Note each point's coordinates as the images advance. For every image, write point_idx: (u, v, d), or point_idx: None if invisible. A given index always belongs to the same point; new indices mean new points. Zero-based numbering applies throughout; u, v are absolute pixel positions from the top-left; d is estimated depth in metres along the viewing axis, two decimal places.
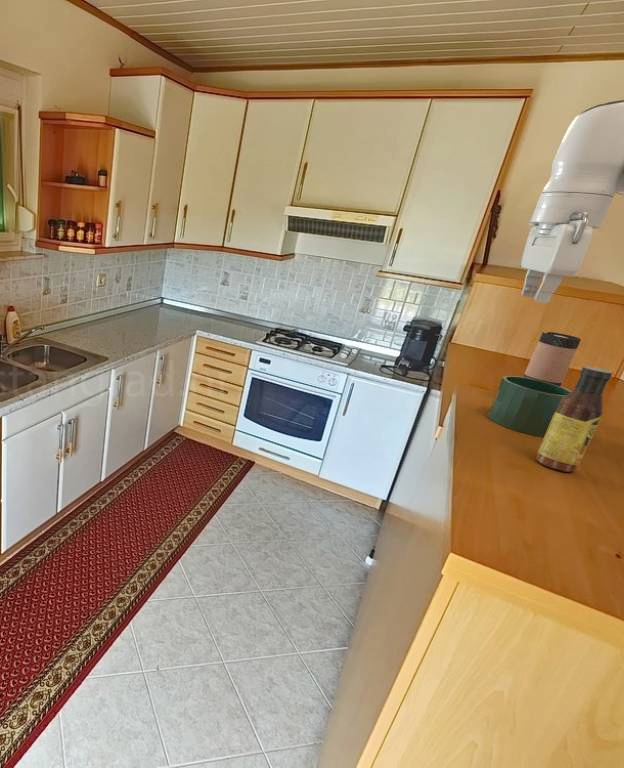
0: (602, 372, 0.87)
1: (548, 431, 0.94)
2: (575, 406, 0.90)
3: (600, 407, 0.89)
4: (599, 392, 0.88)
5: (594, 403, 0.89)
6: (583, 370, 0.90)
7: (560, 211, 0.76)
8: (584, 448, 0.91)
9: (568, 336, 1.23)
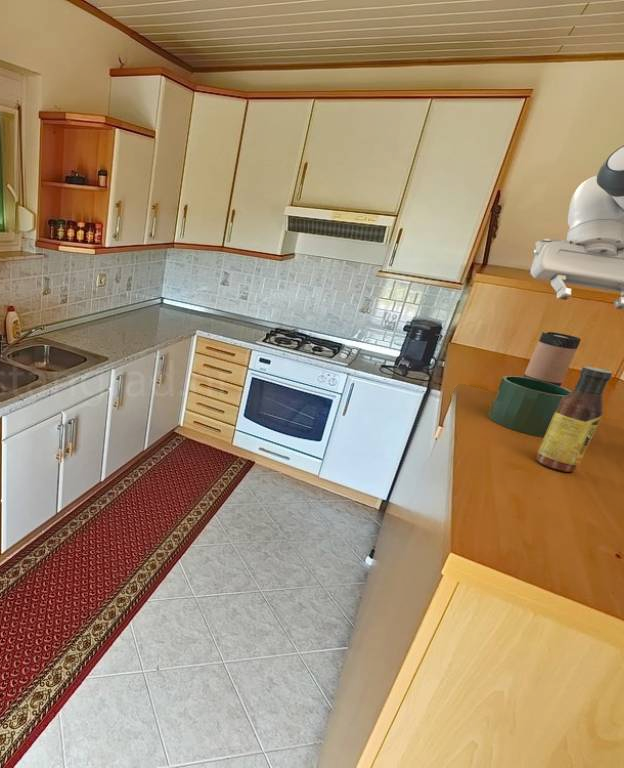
0: (602, 372, 0.87)
1: (548, 431, 0.94)
2: (575, 406, 0.90)
3: (600, 407, 0.89)
4: (599, 392, 0.88)
5: (594, 403, 0.89)
6: (583, 370, 0.90)
7: None
8: (584, 448, 0.91)
9: (568, 336, 1.23)
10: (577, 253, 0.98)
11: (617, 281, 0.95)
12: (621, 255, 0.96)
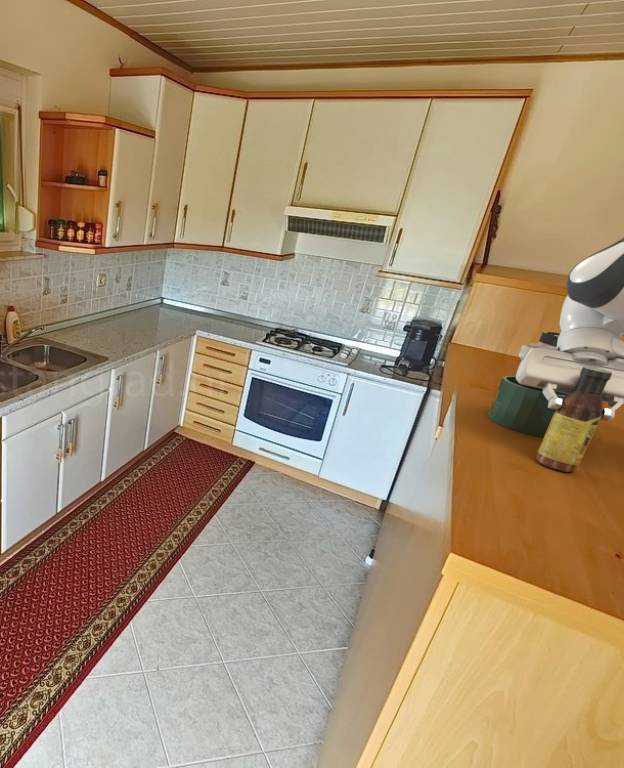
0: (602, 372, 0.87)
1: (548, 431, 0.94)
2: (575, 406, 0.90)
3: (600, 407, 0.89)
4: (599, 392, 0.88)
5: (593, 403, 0.89)
6: (583, 370, 0.90)
7: None
8: (584, 448, 0.91)
9: None
10: (564, 361, 0.95)
11: (607, 392, 0.90)
12: (612, 365, 0.92)
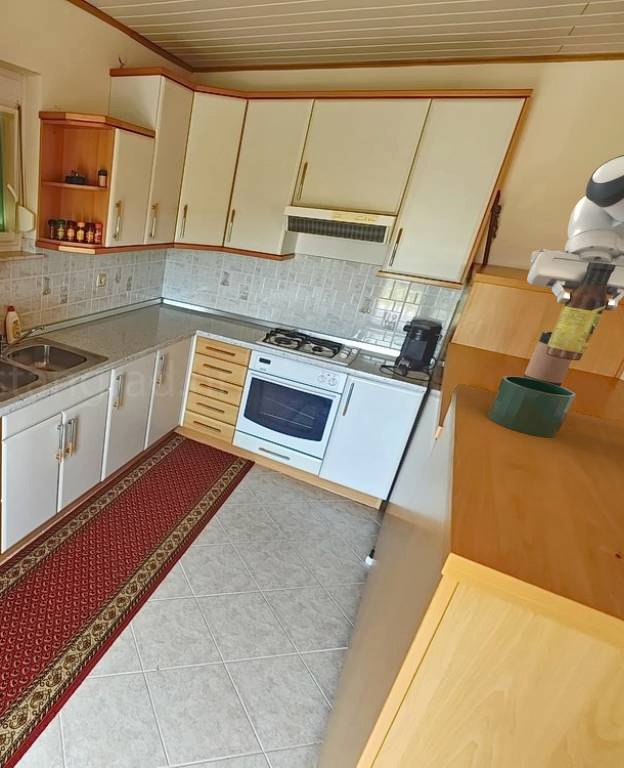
0: (607, 264, 0.96)
1: (557, 325, 1.03)
2: (581, 297, 0.99)
3: (604, 297, 0.98)
4: (604, 283, 0.97)
5: (599, 294, 0.98)
6: (589, 264, 0.99)
7: None
8: (589, 336, 1.00)
9: None
10: (572, 261, 1.04)
11: (611, 285, 0.99)
12: (616, 262, 1.00)
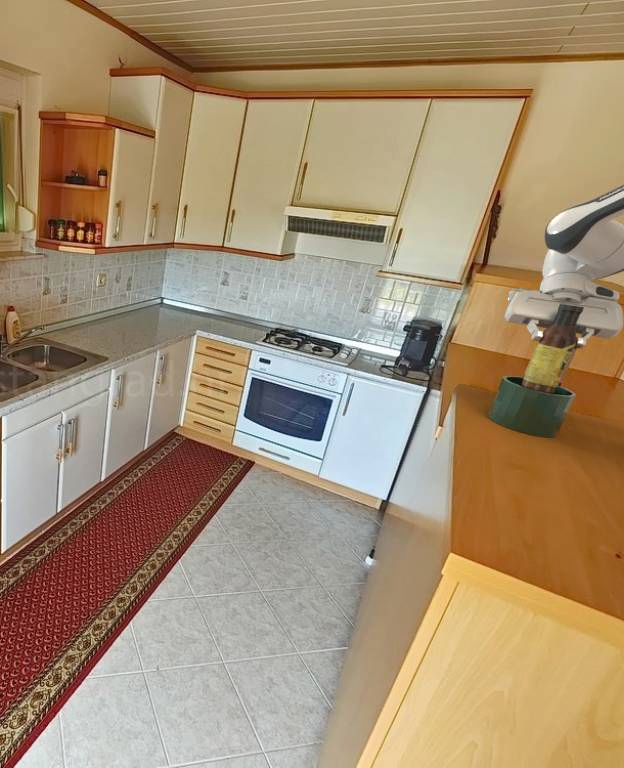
0: (575, 306, 1.05)
1: (531, 360, 1.12)
2: (553, 336, 1.07)
3: (574, 336, 1.06)
4: (573, 323, 1.06)
5: (568, 333, 1.06)
6: (560, 306, 1.07)
7: None
8: (561, 372, 1.08)
9: None
10: (545, 301, 1.12)
11: (580, 325, 1.07)
12: (585, 303, 1.09)
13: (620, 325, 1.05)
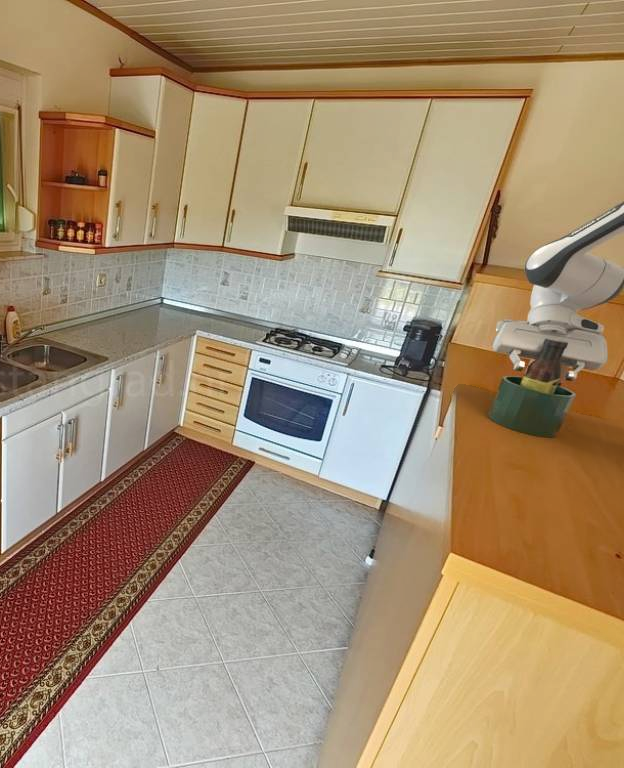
0: (560, 342, 1.08)
1: None
2: (538, 370, 1.10)
3: (558, 371, 1.09)
4: (558, 358, 1.09)
5: (553, 367, 1.09)
6: (545, 341, 1.10)
7: None
8: None
9: None
10: (532, 332, 1.15)
11: (566, 357, 1.10)
12: (570, 335, 1.12)
13: (604, 358, 1.07)
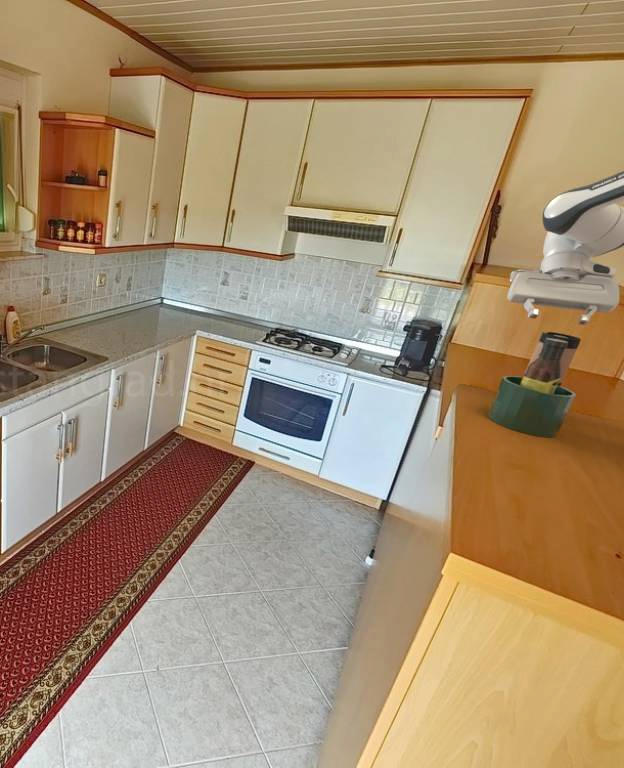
0: (560, 342, 1.08)
1: None
2: (538, 370, 1.10)
3: (558, 371, 1.09)
4: (558, 358, 1.09)
5: (553, 367, 1.09)
6: (545, 341, 1.10)
7: None
8: None
9: (568, 336, 1.23)
10: (545, 280, 1.19)
11: (578, 302, 1.15)
12: (583, 280, 1.16)
13: (616, 300, 1.12)
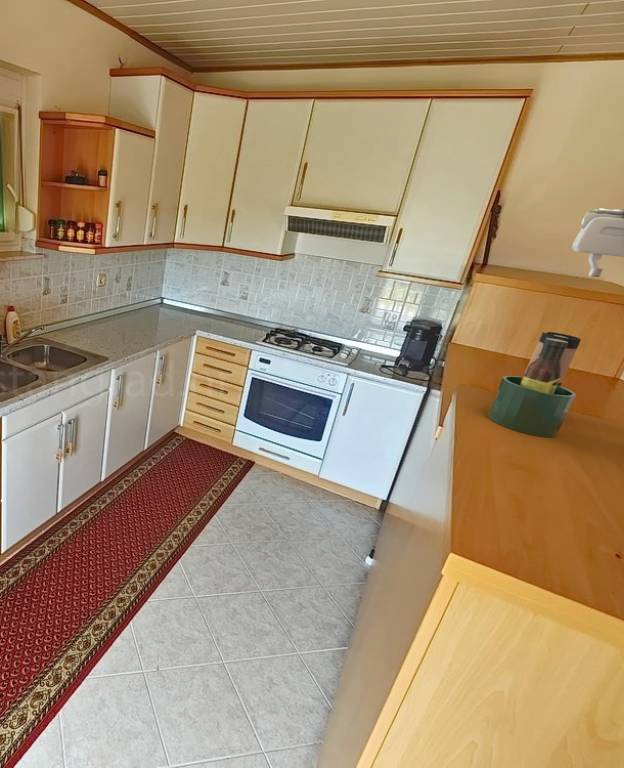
0: (560, 342, 1.08)
1: None
2: (538, 370, 1.10)
3: (558, 371, 1.09)
4: (558, 358, 1.09)
5: (553, 367, 1.09)
6: (545, 341, 1.10)
7: None
8: None
9: (568, 336, 1.23)
10: (623, 229, 1.01)
11: None
12: None
13: None
